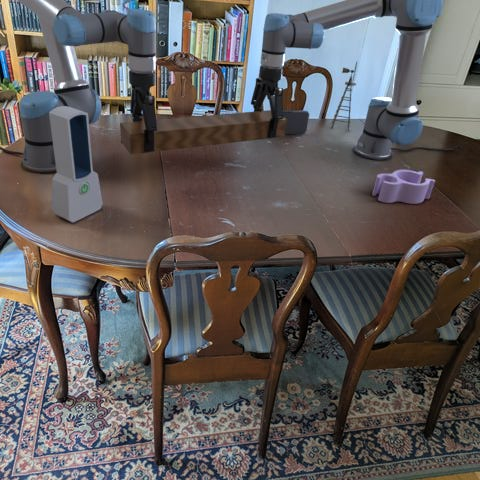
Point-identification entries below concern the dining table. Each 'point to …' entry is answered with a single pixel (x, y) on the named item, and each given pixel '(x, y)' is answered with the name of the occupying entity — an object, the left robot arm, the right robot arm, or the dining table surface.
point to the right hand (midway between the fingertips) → (263, 131)
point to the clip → (402, 187)
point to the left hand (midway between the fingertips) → (143, 144)
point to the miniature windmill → (345, 97)
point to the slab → (200, 131)
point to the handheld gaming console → (296, 121)
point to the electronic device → (73, 165)
